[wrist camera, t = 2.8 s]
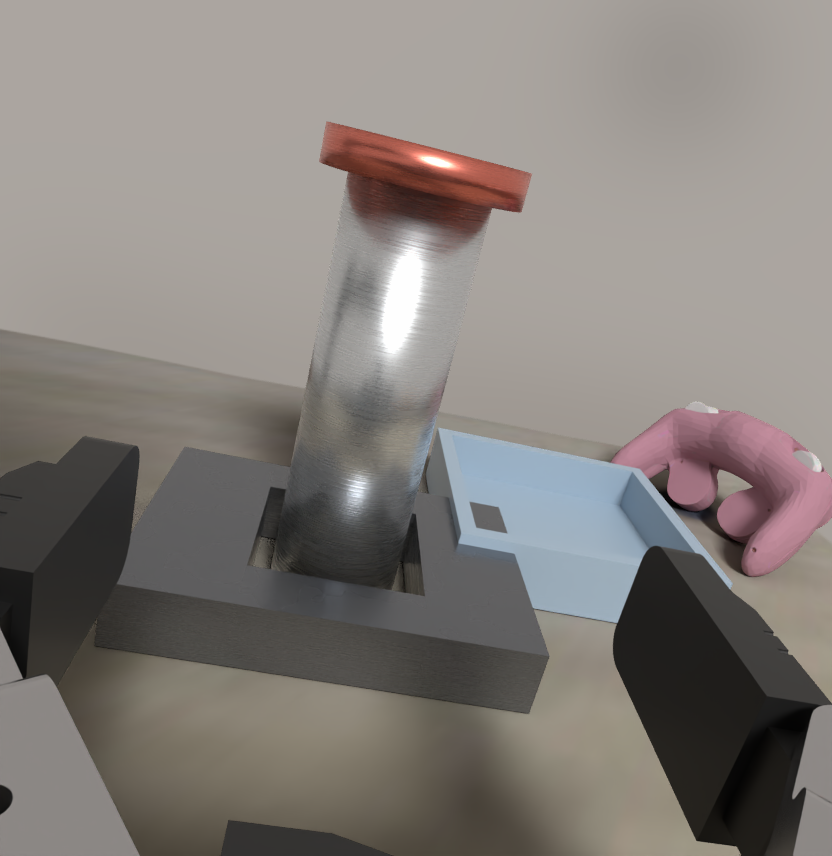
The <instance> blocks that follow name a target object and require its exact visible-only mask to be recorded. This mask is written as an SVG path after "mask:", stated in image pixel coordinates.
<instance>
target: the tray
mask: <svg viewBox="0 0 832 856" xmlns="http://www.w3.org/2000/svg"><path fill="white" fill-rule="evenodd" d="M426 479H427V486H428V492H429V494H433V495H438V496H443V497H448V498H449V501H450V506H451V510H452V515H453V520H454V525H455V530H456V534H457V539H458V543H460V544H465V545H470V546H476V547H481V548H487V549H492V550H497V551H503V552H508V553H514V554H515V556H516V559H517V562H518V565H519V568H520V571H521V574H522V577H523V580H524V583H525V586H526V589H527V592H528V595H529V598H530V601H531V604H532V606H533V608H534V609H540V610H545V611H551V612H557V613H563V614H568V615H574V616H580V617H585V618H591V619H597V620H603V621H608V622H614V623H618V620H619V618H620V615H621V612H622V610H623V607H624V605H625V602H626V599H627V597H628V594H629V592H630V589H631V586H632V584H633V581H634V579H635V576H636V573H637V571H638V568H639V566H640V563H641V561H642V558H643V556H644V554H645V553H646V551H647V550H648V549H649V548H650V547H652V546H661V547H667V548H672V549H677V550H682V551H688V552H693V553H698V554H701V555H703V556H704V557H705V559H706V560H707V561H708V562H709V564H710V565H711V566H712V567H713V569H714V570H715V571H716V572H717V574H718V575H719V576H720V577H721V579H722V580H723V581H724V582H725V584H726V585H727V586H728V587H729V589H731V587H732V584H733V583H732V582H731V581H730V580H729V578H728V577H727V576H726V575H725V573H724V572H723V571H722V570H721V568H720V567H719V566H718V565H717V564H716V562H715V561H714V560H713V559H712V557H711V556H710V555H709V554H708V552H707V551H706V550H705V549H704V547H703V546H702V545H701V544H700V543H699V541H698V540H697V539H696V538H695V536H694V535H693V534H692V533H691V531H690V530H689V529H688V528H687V526H686V525H685V524H684V523H683V521H682V520H681V519H680V518H679V517H678V515H677V514H676V513H675V512H674V510H673V509H672V508H671V507H670V505H669V504H668V503H667V502H666V500H665V499H664V498H663V497H662V496H661V494H660V493H659V492H658V491H657V489H656V488H655V487H654V486H653V484H652V483H651V482H650V481H649V479H648V478H647V477H646V476H645V475H644V473H643V472H642V471H641V470H640V469H638V468H633V467H628V466H623V465H619V464H614V463H609V462H604V461H599V460H594V459H589V458H584V457H579V456H575V455H570V454H565V453H560V452H555V451H550V450H545V449H540V448H535V447H531V446H526V445H521V444H516V443H511V442H506V441H501V440H496V439H491V438H487V437H482V436H477V435H472V434H467V433H462V432H457V431H452V430H447V429H442V428H438V429H437V433H436V437H435V441H434V444H433V448H432V452H431V456H430V460H429V463H428V467H427V471H426ZM469 502H474V503H480V504H485V505H490V506H495V507H499V509H500V512H501V515H502V518H503V521H504V524H505V527H506V530H507V533H508V534H507V533H501V532H496V531H491V530H485V529H480V528H476V525H475V522H474V518H473V514H472V510H471V506H470V503H469Z"/></svg>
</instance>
